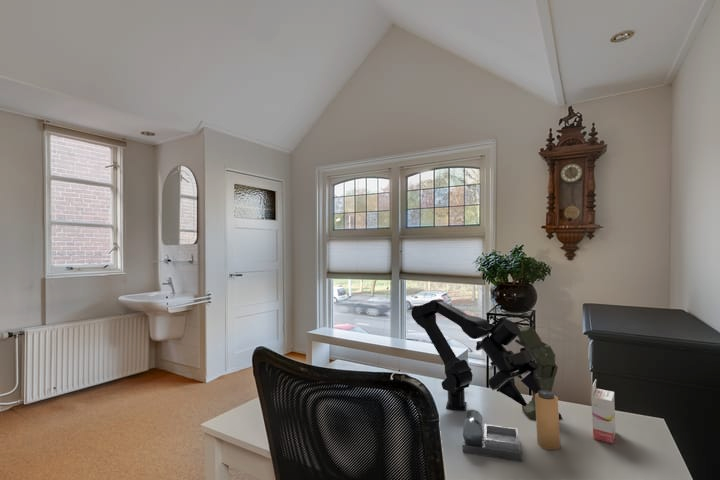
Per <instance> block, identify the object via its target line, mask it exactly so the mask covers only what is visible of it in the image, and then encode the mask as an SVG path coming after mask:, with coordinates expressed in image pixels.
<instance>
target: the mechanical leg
mask: <svg viewBox="0 0 720 480" xmlns="http://www.w3.org/2000/svg"><path fill="white" fill-rule="evenodd" d="M519 329H520V334H519V335H518V336H517V338H518V339H516V338H515V339H514V342H515V343H517V344H518V345H520V346H522V348H524V347H528V348H529V349H530V350H531V351H532V352H533V353H534V354H533V357H532V358H533V361H535V363H536V364H537V365H538V366H539V367H538V368H537V369H538V371H537V376H536V377H537V380H538V383H539V385H540V387H541V390H547V391H551V392H553V387H554V382H555V378H556V375H557V372H558V367H559V366H558V365H557V364H556V353H555V351H553V348H552V347H551V345H549V344H547V343H546V342H544V341H542V339H541V337H540V336H539V333H538V332H537V331H536V330H535V328H534V327H532V326H530V325H525V326H523V327H519ZM532 393H533V394H532V396H531V400H529V401H528V403H527V405H526V406H522V405H521V410H522V412H523V413H524V414H525V416H527V418H528V419H536V404H535V393H534V392H533V391H532ZM560 419H561V420H562V419H563V417H562V414H561V413H560V412H559V420H560Z"/></svg>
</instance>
